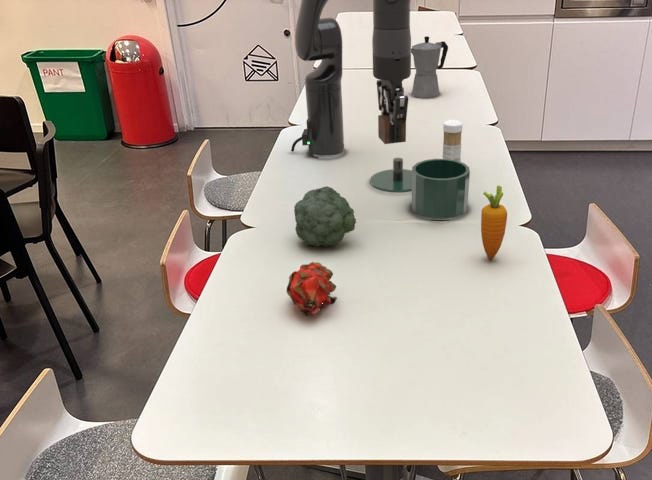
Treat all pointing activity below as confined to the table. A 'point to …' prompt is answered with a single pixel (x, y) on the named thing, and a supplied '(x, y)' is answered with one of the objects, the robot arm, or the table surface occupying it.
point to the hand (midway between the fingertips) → (392, 137)
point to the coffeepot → (427, 67)
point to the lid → (393, 178)
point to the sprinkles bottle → (452, 140)
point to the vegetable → (323, 217)
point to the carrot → (493, 223)
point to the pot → (440, 188)
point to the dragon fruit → (311, 287)
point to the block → (388, 129)
